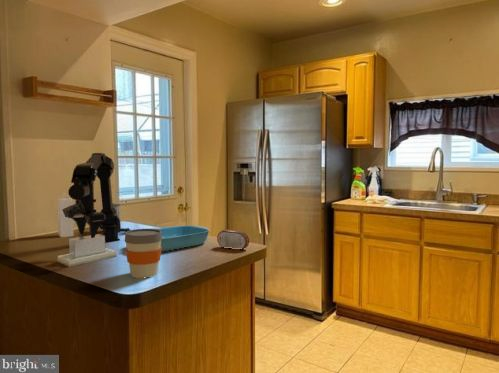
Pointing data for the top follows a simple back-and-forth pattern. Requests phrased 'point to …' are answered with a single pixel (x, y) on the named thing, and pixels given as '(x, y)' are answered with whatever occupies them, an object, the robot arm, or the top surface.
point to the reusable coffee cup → (143, 251)
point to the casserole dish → (182, 236)
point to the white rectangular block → (86, 246)
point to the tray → (86, 258)
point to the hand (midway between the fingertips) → (87, 236)
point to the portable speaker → (233, 239)
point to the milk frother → (117, 208)
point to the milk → (64, 222)
